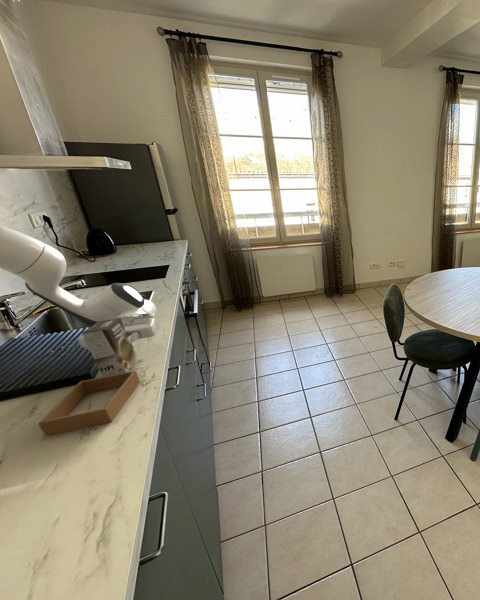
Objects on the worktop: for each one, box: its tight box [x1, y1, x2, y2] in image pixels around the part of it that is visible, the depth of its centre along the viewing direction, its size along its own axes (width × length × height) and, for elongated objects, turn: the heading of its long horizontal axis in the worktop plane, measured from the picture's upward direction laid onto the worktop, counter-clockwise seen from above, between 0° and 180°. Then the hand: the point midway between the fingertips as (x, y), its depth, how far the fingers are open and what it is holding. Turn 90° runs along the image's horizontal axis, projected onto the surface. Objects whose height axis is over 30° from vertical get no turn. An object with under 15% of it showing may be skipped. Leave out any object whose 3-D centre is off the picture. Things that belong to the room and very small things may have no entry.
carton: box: [37, 370, 141, 437], centre depth 88 cm, size 14×18×4 cm
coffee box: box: [81, 318, 139, 377], centre depth 102 cm, size 9×6×16 cm
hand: (108, 345), depth 100 cm, fingers open, 8 cm apart
